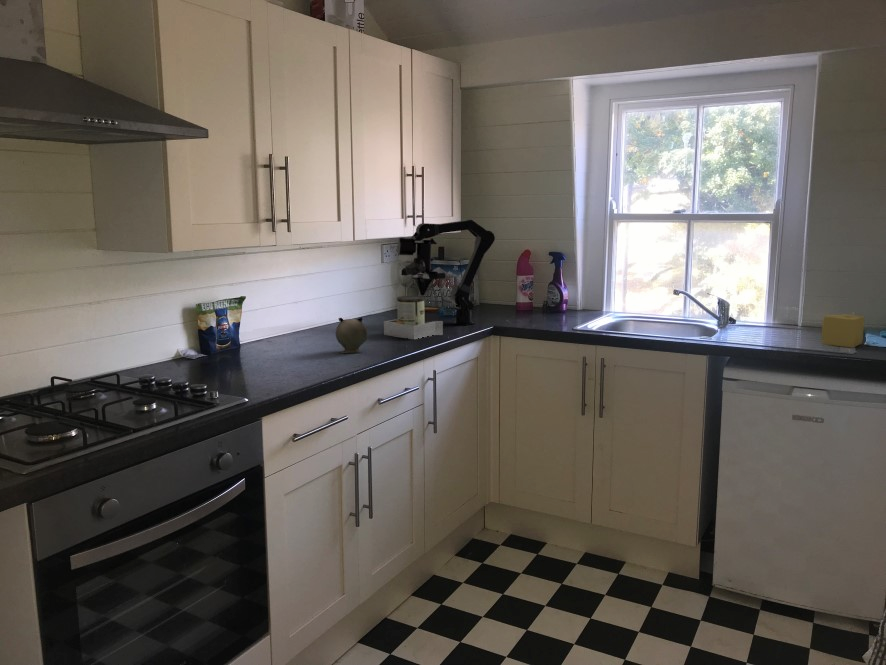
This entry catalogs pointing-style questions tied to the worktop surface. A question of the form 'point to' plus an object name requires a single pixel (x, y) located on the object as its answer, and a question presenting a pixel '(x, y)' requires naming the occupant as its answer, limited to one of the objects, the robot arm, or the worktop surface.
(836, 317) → the cheese
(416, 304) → the coffee can
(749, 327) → the worktop surface
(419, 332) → the grey bent block
